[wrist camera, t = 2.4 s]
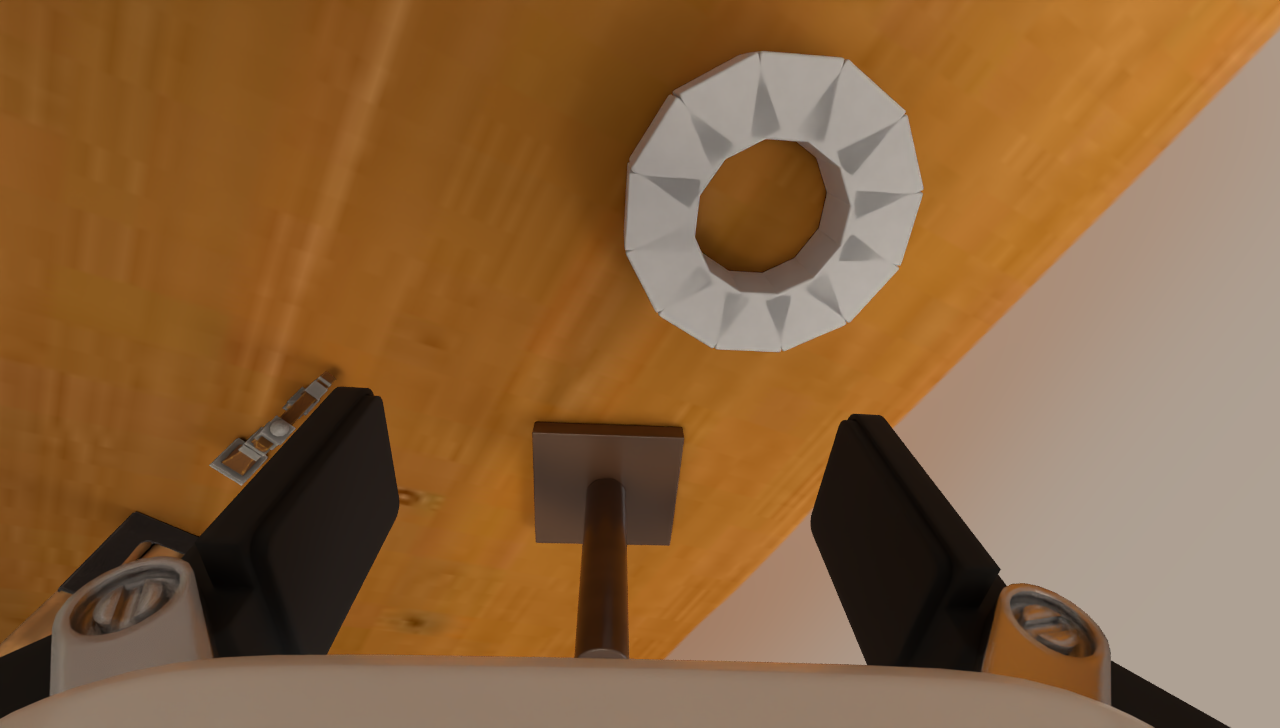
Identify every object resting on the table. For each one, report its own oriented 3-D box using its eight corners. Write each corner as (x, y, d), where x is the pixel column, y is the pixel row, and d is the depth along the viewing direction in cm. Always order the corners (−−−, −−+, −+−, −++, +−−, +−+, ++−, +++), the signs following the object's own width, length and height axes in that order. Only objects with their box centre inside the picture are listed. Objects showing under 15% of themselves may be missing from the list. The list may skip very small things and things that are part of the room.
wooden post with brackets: (354, 380, 26) (286, 454, 23) (300, 423, 31) (238, 489, 28) (321, 355, 25) (247, 428, 22) (271, 403, 30) (205, 468, 27)
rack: (534, 421, 29) (493, 597, 19) (682, 426, 29) (714, 600, 20) (537, 530, 33) (504, 722, 23) (668, 533, 33) (689, 722, 24)
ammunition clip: (316, 586, 34) (182, 815, 24) (304, 601, 35) (169, 831, 24) (134, 510, 31) (-118, 740, 20) (124, 529, 31) (-123, 761, 21)
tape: (634, 43, 21) (636, 40, 18) (923, 67, 21) (963, 67, 19) (618, 319, 26) (619, 345, 24) (849, 330, 27) (873, 357, 25)
